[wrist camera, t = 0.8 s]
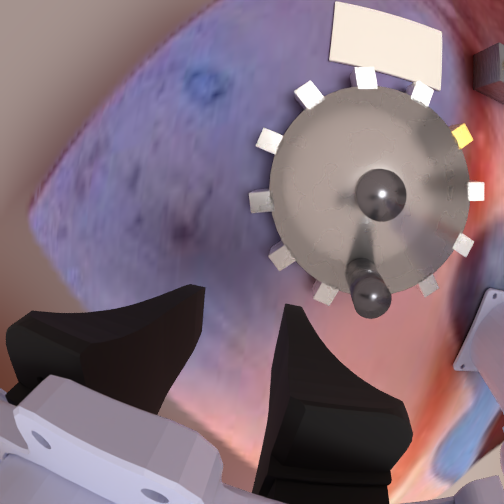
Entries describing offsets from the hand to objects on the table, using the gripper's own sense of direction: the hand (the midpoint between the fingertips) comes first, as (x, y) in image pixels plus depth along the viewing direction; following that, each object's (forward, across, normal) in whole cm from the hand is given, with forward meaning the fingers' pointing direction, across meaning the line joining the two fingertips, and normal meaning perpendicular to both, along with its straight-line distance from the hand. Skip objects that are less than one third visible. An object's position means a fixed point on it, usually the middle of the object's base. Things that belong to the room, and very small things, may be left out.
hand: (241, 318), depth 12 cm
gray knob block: (+10, -16, -16) cm, 25 cm away
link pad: (+10, -6, -16) cm, 20 cm away
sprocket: (+10, -6, -5) cm, 13 cm away
